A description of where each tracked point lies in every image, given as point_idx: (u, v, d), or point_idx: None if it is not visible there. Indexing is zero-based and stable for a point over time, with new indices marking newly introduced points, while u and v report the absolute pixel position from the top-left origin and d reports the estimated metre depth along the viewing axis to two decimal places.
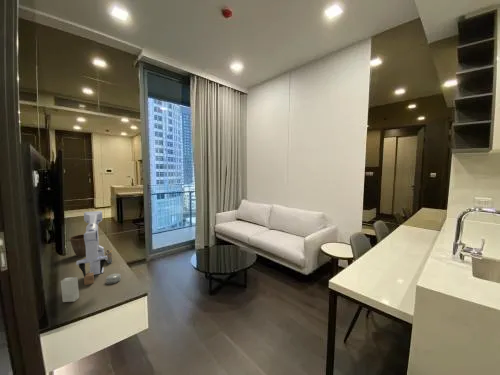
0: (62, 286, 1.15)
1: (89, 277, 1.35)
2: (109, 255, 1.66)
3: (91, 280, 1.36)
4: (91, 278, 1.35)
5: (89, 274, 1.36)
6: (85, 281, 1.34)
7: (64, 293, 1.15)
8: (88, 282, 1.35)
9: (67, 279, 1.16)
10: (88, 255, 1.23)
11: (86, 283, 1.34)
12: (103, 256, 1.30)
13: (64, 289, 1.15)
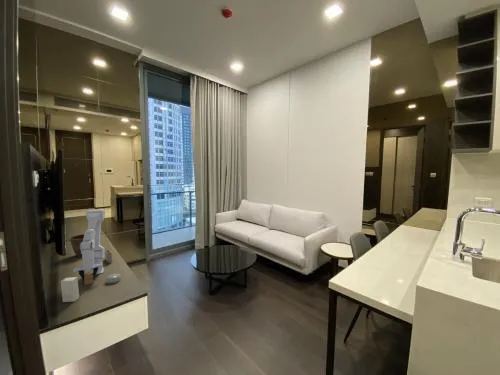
0: (62, 286, 1.15)
1: (89, 277, 1.35)
2: (109, 255, 1.66)
3: (91, 280, 1.36)
4: (91, 278, 1.35)
5: (89, 274, 1.36)
6: (85, 281, 1.34)
7: (64, 293, 1.15)
8: (88, 282, 1.35)
9: (67, 279, 1.16)
10: (85, 263, 1.33)
11: (86, 283, 1.34)
12: (99, 264, 1.40)
13: (64, 289, 1.15)
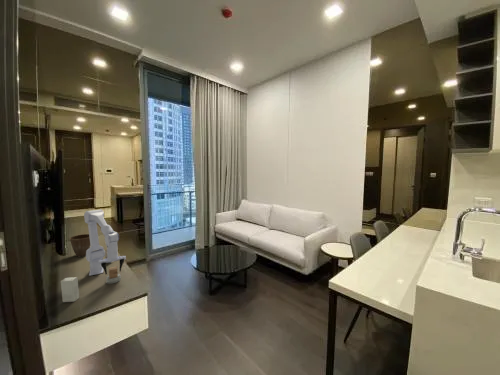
0: (62, 286, 1.15)
1: (113, 271, 1.37)
2: None
3: (115, 274, 1.38)
4: (115, 272, 1.38)
5: (113, 268, 1.39)
6: (110, 274, 1.36)
7: (64, 293, 1.15)
8: (113, 276, 1.37)
9: (67, 279, 1.16)
10: (109, 255, 1.36)
11: (111, 277, 1.37)
12: (122, 256, 1.43)
13: (64, 289, 1.15)
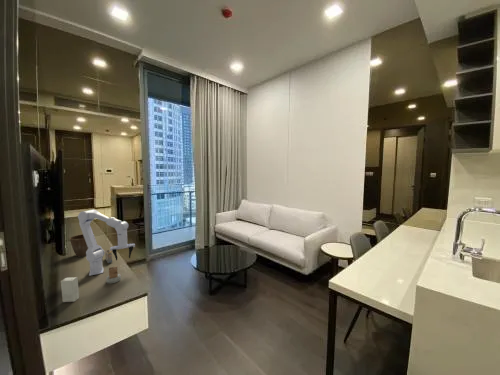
0: (62, 286, 1.15)
1: (113, 271, 1.38)
2: (109, 255, 1.66)
3: (115, 274, 1.38)
4: (115, 272, 1.38)
5: (113, 268, 1.39)
6: (110, 274, 1.37)
7: (64, 293, 1.15)
8: (113, 276, 1.37)
9: (67, 279, 1.16)
10: (120, 242, 1.45)
11: (111, 277, 1.37)
12: (131, 244, 1.52)
13: (64, 289, 1.15)
